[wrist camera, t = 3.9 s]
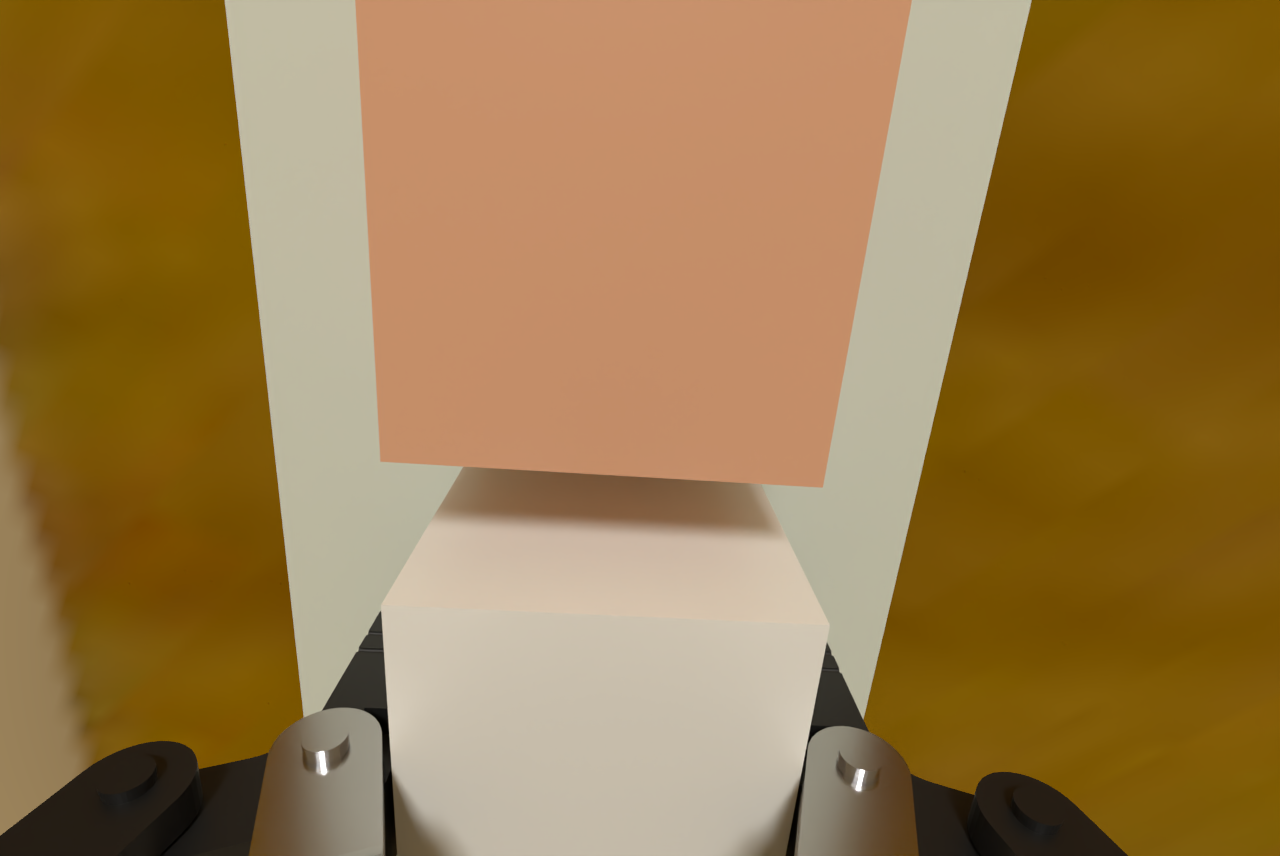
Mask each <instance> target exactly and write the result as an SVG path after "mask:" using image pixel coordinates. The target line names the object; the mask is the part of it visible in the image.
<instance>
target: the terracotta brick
mask: <svg viewBox="0 0 1280 856" xmlns="http://www.w3.org/2000/svg"><path fill="white" fill-rule="evenodd" d="M911 3H912V0H355V6H356V24H357V42H358V61H359V79H360V97H361V115H362V134H363V152H364V170H365V189H366V207H367V225H368V243H369V262H370V280H371V298H372V317H373V335H374V353H375V371H376V390H377V408H378V426H379V445H380V462H394V463H411V464H428V465H445V466H462V467H479V468H496V469H513V470H530V471H547V472H564V473H581V474H598V475H615V476H633V477H650V478H667V479H684V480H701V481H718V482H735V483H752V484H769V485H786V486H803V487H820V488H823V484H824V479H825V473H826V468H827V462H828V457H829V451H830V446H831V440H832V435H833V429H834V424H835V418H836V413H837V407H838V402H839V397H840V391H841V386H842V380H843V375H844V369H845V364H846V358H847V353H848V347H849V342H850V336H851V331H852V325H853V320H854V315H855V309H856V304H857V298H858V293H859V287H860V282H861V276H862V271H863V265H864V260H865V254H866V249H867V243H868V238H869V233H870V227H871V222H872V216H873V211H874V205H875V200H876V194H877V189H878V183H879V178H880V172H881V167H882V161H883V156H884V150H885V145H886V140H887V134H888V129H889V123H890V118H891V112H892V107H893V101H894V96H895V90H896V85H897V79H898V74H899V68H900V63H901V58H902V52H903V47H904V41H905V36H906V30H907V25H908V19H909V14H910V8H911Z"/></svg>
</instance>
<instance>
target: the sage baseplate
mask: <svg viewBox="0 0 1280 856" xmlns="http://www.w3.org/2000/svg"><path fill="white" fill-rule="evenodd" d="M1030 5H1031V0H912V3H911V8H910V14H909V19H908V25H907V30H906V36H905V41H904V47H903V52H902V58H901V63H900V68H899V74H898V79H897V85H896V90H895V96H894V101H893V107H892V112H891V118H890V123H889V129H888V134H887V140H886V145H885V150H884V156H883V161H882V167H881V172H880V178H879V183H878V189H877V194H876V200H875V205H874V211H873V216H872V222H871V227H870V233H869V238H868V243H867V249H866V254H865V260H864V265H863V271H862V276H861V282H860V287H859V293H858V298H857V304H856V309H855V315H854V320H853V325H852V331H851V336H850V342H849V347H848V353H847V358H846V364H845V369H844V375H843V380H842V386H841V391H840V397H839V402H838V407H837V413H836V418H835V424H834V429H833V435H832V440H831V446H830V451H829V457H828V462H827V468H826V473H825V479H824V484H823V488H820V487H803V486H786V485H769V484H761V486H762V488H763V490H764V492H765V494H766V496H767V498H768V500H769V502H770V504H771V506H772V508H773V510H774V512H775V514H776V516H777V518H778V520H779V522H780V524H781V526H782V528H783V530H784V533H785V535H786V537H787V539H788V541H789V543H790V545H791V547H792V549H793V551H794V553H795V555H796V557H797V559H798V561H799V563H800V565H801V567H802V569H803V571H804V573H805V575H806V577H807V579H808V581H809V583H810V586H811V588H812V590H813V592H814V594H815V596H816V598H817V600H818V602H819V604H820V606H821V608H822V610H823V612H824V614H825V616H826V618H827V620H828V622H829V624H830V628H829V633H828V638H827V643H828V645H829V647H830V649H831V651H832V652H831V654H832V656H834V658H835V660H836V662H837V664H838V667H839V672H840V673H842V675H843V677H844V679H845V682H846V684H847V686H848V688H849V690H850V692H851V694H852V697H853V699H854V701H855V703H856V705H857V707H858V710H859V712H860V714H861V716H862V718H863V719H864V714H865V710H866V706H867V701H868V697H869V693H870V689H871V684H872V680H873V676H874V672H875V667H876V663H877V659H878V654H879V650H880V646H881V642H882V637H883V633H884V629H885V625H886V620H887V616H888V612H889V607H890V603H891V599H892V595H893V590H894V586H895V582H896V577H897V573H898V569H899V565H900V560H901V556H902V552H903V548H904V543H905V539H906V535H907V530H908V526H909V522H910V518H911V513H912V509H913V505H914V501H915V496H916V492H917V488H918V483H919V479H920V475H921V471H922V466H923V462H924V458H925V453H926V449H927V445H928V441H929V436H930V432H931V428H932V424H933V419H934V415H935V411H936V406H937V402H938V398H939V394H940V389H941V385H942V381H943V377H944V372H945V368H946V364H947V359H948V355H949V351H950V347H951V342H952V338H953V334H954V330H955V325H956V321H957V317H958V312H959V308H960V304H961V300H962V295H963V291H964V287H965V282H966V278H967V274H968V270H969V265H970V261H971V257H972V253H973V248H974V244H975V240H976V235H977V231H978V227H979V223H980V218H981V214H982V210H983V206H984V201H985V197H986V193H987V188H988V184H989V180H990V176H991V171H992V167H993V163H994V159H995V154H996V150H997V146H998V141H999V137H1000V133H1001V129H1002V124H1003V120H1004V116H1005V111H1006V107H1007V103H1008V99H1009V94H1010V90H1011V86H1012V82H1013V77H1014V73H1015V69H1016V64H1017V60H1018V56H1019V52H1020V47H1021V43H1022V39H1023V35H1024V30H1025V26H1026V22H1027V17H1028V13H1029V9H1030ZM225 6H226V15H227V25H228V34H229V43H230V52H231V61H232V70H233V79H234V88H235V97H236V106H237V115H238V124H239V133H240V142H241V151H242V161H243V170H244V179H245V188H246V197H247V206H248V215H249V224H250V233H251V242H252V251H253V260H254V269H255V278H256V287H257V296H258V306H259V315H260V324H261V333H262V342H263V351H264V360H265V369H266V378H267V387H268V396H269V405H270V414H271V423H272V432H273V442H274V451H275V460H276V469H277V478H278V487H279V496H280V505H281V514H282V523H283V532H284V541H285V550H286V559H287V568H288V577H289V587H290V596H291V605H292V614H293V623H294V632H295V641H296V650H297V659H298V668H299V677H300V686H301V695H302V704H303V713H304V717H306V716H309V715H311V714H314V713H316V712H319V711H322V709H323V708H324V706H325V704H326V703H327V701H328V699H329V697H330V696H331V694H332V692H333V691H334V689H335V687H336V685H337V684H338V682H339V680H340V679H341V677H342V675H343V674H344V672H345V670H346V668H347V667H348V665H349V663H350V662H351V660H352V658H353V657H354V655H355V653H356V652H358V650H359V646H360V645H361V643H362V641H363V639H364V638H365V636H366V635H368V631H369V629H370V628H371V626H372V624H373V622H374V621H375V619H376V617H377V616H378V614H379V612H380V611H381V604H382V602H383V601H384V599H385V597H386V596H387V594H388V592H389V591H390V589H391V587H392V586H393V584H394V582H395V580H396V579H397V577H398V575H399V574H400V572H401V570H402V569H403V567H404V565H405V564H406V562H407V560H408V559H409V557H410V555H411V554H412V552H413V550H414V549H415V547H416V545H417V543H418V542H419V540H420V538H421V537H422V535H423V533H424V532H425V530H426V528H427V527H428V525H429V523H430V522H431V520H432V518H433V517H434V515H435V513H436V512H437V510H438V508H439V507H440V505H441V503H442V501H443V500H444V498H445V496H446V495H447V493H448V491H449V490H450V488H451V486H452V485H453V483H454V481H455V480H456V478H457V476H458V475H459V473H460V471H461V470H462V468H463V467H462V466H445V465H428V464H411V463H394V462H380V445H379V426H378V408H377V390H376V371H375V353H374V335H373V317H372V298H371V280H370V262H369V243H368V225H367V207H366V189H365V170H364V152H363V134H362V115H361V97H360V79H359V61H358V42H357V24H356V6H355V0H225ZM396 856H397V855H396Z"/></svg>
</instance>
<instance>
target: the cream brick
mask: <svg viewBox="0 0 1280 856" xmlns="http://www.w3.org/2000/svg"><path fill="white" fill-rule="evenodd" d="M381 615H382V630H383V646H384V661H385V676H386V691H387V707H388V722H389V737H390V753H391V768H392V783H393V799H394V814H395V829H396V845H397V856H785V855H786V850H787V845H788V840H789V835H790V830H791V824H792V819H793V814H794V809H795V804H796V799H797V793H798V788H799V783H800V778H801V773H802V767H803V762H804V757H805V752H806V747H807V742H808V736H809V731H810V726H811V721H812V716H813V711H814V705H815V700H816V695H817V690H818V685H819V679H820V674H821V669H822V664H823V659H824V654H825V648H826V643H827V638H828V633H829V628H830V624H829V622H828V620H827V618H826V616H825V614H824V612H823V610H822V608H821V606H820V604H819V602H818V600H817V598H816V596H815V594H814V592H813V590H812V588H811V586H810V583H809V581H808V579H807V577H806V575H805V573H804V571H803V569H802V567H801V565H800V563H799V561H798V559H797V557H796V555H795V553H794V551H793V549H792V547H791V545H790V543H789V541H788V539H787V537H786V535H785V533H784V530H783V528H782V526H781V524H780V522H779V520H778V518H777V516H776V514H775V512H774V510H773V508H772V506H771V504H770V502H769V500H768V498H767V496H766V494H765V492H764V490H763V488H762V486H761V484H752V483H735V482H718V481H701V480H684V479H667V478H650V477H633V476H615V475H598V474H581V473H564V472H547V471H530V470H513V469H496V468H479V467H463V468H462V470H461V471H460V473H459V475H458V476H457V478H456V480H455V481H454V483H453V485H452V486H451V488H450V490H449V491H448V493H447V495H446V496H445V498H444V500H443V501H442V503H441V505H440V507H439V508H438V510H437V512H436V513H435V515H434V517H433V518H432V520H431V522H430V523H429V525H428V527H427V528H426V530H425V532H424V533H423V535H422V537H421V538H420V540H419V542H418V543H417V545H416V547H415V549H414V550H413V552H412V554H411V555H410V557H409V559H408V560H407V562H406V564H405V565H404V567H403V569H402V570H401V572H400V574H399V575H398V577H397V579H396V580H395V582H394V584H393V586H392V587H391V589H390V591H389V592H388V594H387V596H386V597H385V599H384V601H383V602H382V604H381Z"/></svg>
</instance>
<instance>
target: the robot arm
mask: <svg viewBox="0 0 1280 856" xmlns="http://www.w3.org/2000/svg"><path fill="white" fill-rule="evenodd" d="M831 652H832V651H831V649H830V647H829V645H828V643H826V648H825V654H824V659H823V664H822V669H821V674H820V679H819V685H818V690H817V695H816V700H815V705H814V711H813V716H812V721H811V726H810V731H809V736H808V742H807V747H806V752H805V757H804V762H803V767H802V773H801V778H800V783H799V788H798V793H797V799H796V804H795V809H794V814H793V819H792V824H791V830H790V835H789V840H788V845H787V850H786V855H785V856H1128V855H1127V854H1126V853H1125V852H1123V851H1122V850H1121V849H1120V848H1119V847H1118V846H1117V845H1116V844H1115V843H1114V842H1113V841H1112V840H1111V839H1110V838H1109V837H1108V836H1107V835H1106V834H1105V833H1104V832H1103V831H1102V830H1101V829H1100V828H1099V827H1098V826H1097V825H1096V824H1094V823H1093V822H1092V821H1091V820H1090V819H1089V818H1088V817H1087V816H1086V815H1085V814H1084V813H1083V812H1082V811H1081V810H1080V809H1079V808H1078V807H1077V806H1076V805H1075V804H1074V803H1072V802H1071V801H1070V800H1069V799H1068V798H1067V797H1065V796H1064V795H1063V794H1061V793H1060V792H1058V791H1057V790H1055V789H1054V788H1052V787H1050V786H1049V785H1047V784H1045V783H1043V782H1041V781H1039V780H1036V779H1034V778H1031V777H1028V776H1025V775H1021V774H1017V773H1011V772H997V773H992V774H989V775H987V776H985V777H984V778H982V779H981V781H980V782H979V783H978V786H977V789H976V792H975V795H972V794H969V793H965V792H962V791H958V790H955V789H952V788H948V787H945V786H942V785H938V784H935V783H932V782H929V781H926V780H923V779H921V778H918V777H916V776H914V775H912V774H910V771H909V768H908V766H907V764H906V762H905V761H904V759H903V758H902V756H901V755H900V754H899V753H898V752H897V751H896V750H895V749H894V748H893V747H892V746H891V745H890V744H888V743H887V742H886V741H884V740H883V739H881V738H879V737H878V736H876V735H874V734H872V733H870V732H869V731H868V729H867V727H866V725H865V722H864V720H863V718H862V716H861V714H860V712H859V710H858V707H857V705H856V703H855V701H854V699H853V697H852V694H851V692H850V690H849V688H848V686H847V684H846V682H845V679H844V677H843V675H842V673H840V672H839V667H838V664H837V662H836V660H835V658H834V656H832V654H831ZM396 855H397V845H396V829H395V814H394V799H393V783H392V768H391V753H390V737H389V722H388V707H387V691H386V676H385V661H384V646H383V630H382V615H381V611H380V612H379V614H378V616H377V617H376V619H375V621H374V622H373V624H372V626H371V628H370V629H369V631H368V635H366V636H365V638H364V639H363V641H362V643H361V645H360V646H359V650H358V652H356V653H355V655H354V657H353V658H352V660H351V662H350V663H349V665H348V667H347V668H346V670H345V672H344V674H343V675H342V677H341V679H340V680H339V682H338V684H337V685H336V687H335V689H334V691H333V692H332V694H331V696H330V697H329V699H328V701H327V703H326V704H325V706H324V708H323V709H322V711H319V712H316V713H314V714H311V715H309V716H306V717H304V718H302V719H300V720H299V721H297V722H295V723H294V724H292V725H291V726H290V727H288V728H287V729H286V730H285V731H284V732H283V733H281V734H280V735H279V737H278V738H277V739H276V740H275V742H274V743H273V745H272V747H271V748H270V750H269V753H266V754H264V755H261V756H257V757H254V758H250V759H245V760H241V761H236V762H231V763H226V764H222V765H217V766H212V767H207V768H203V769H199V768H198V763H197V759H196V756H195V754H194V752H193V751H192V750H191V749H190V748H188V747H187V746H185V745H183V744H180V743H176V742H171V741H157V742H149V743H144V744H139V745H135V746H132V747H129V748H126V749H123V750H121V751H118V752H116V753H114V754H111V755H109V756H107V757H105V758H103V759H102V760H100V761H98V762H97V763H95V764H93V765H92V766H90V767H89V768H88V769H86V770H85V771H83V772H82V773H81V774H79V775H78V776H77V777H76V778H74V779H73V780H72V781H70V782H69V783H68V784H67V785H65V786H64V787H63V788H61V789H60V790H59V791H58V792H56V793H55V794H54V795H52V796H51V797H50V798H49V799H47V800H46V801H45V802H43V803H42V804H41V805H40V806H38V807H37V808H36V809H34V810H33V811H32V812H30V813H29V814H28V815H27V816H25V817H24V818H23V819H21V820H20V821H19V822H18V823H16V824H15V825H14V826H13V827H11V828H10V829H8V830H7V831H6V832H5V833H3V834H2V835H1V836H0V856H396Z"/></svg>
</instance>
